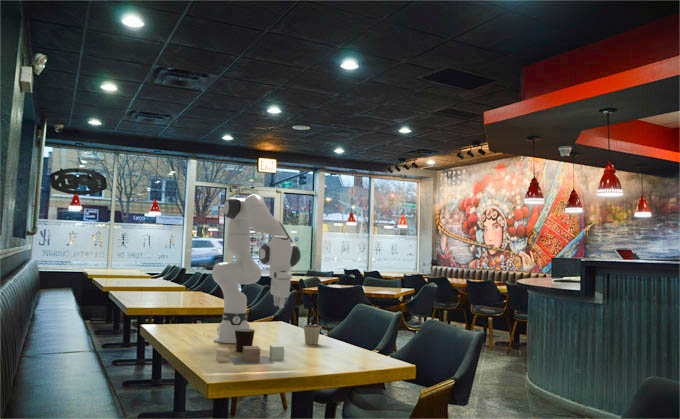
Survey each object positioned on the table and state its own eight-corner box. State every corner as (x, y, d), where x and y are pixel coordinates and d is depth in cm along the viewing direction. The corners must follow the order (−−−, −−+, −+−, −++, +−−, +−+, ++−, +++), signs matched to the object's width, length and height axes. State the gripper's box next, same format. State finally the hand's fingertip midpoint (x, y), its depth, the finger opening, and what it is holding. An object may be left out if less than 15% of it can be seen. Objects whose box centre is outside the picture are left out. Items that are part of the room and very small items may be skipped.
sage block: (269, 359, 220) (269, 344, 221) (280, 359, 222) (281, 344, 222) (271, 361, 215) (272, 347, 216) (283, 361, 217) (284, 346, 218)
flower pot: (320, 345, 257) (321, 327, 258) (301, 345, 257) (302, 327, 258) (321, 342, 267) (322, 325, 267) (302, 341, 267) (303, 324, 267)
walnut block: (242, 358, 215) (243, 346, 215) (256, 358, 217) (257, 346, 217) (244, 361, 209) (245, 349, 210) (259, 361, 211) (260, 348, 212)
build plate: (228, 358, 218) (228, 356, 218) (266, 357, 223) (266, 355, 223) (233, 366, 203) (233, 364, 203) (274, 365, 208) (274, 363, 208)
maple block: (216, 361, 213) (217, 348, 213) (227, 360, 214) (228, 348, 215) (217, 363, 209) (218, 350, 209) (229, 363, 210) (229, 350, 210)
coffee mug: (249, 355, 227) (250, 331, 228) (230, 353, 228) (231, 330, 229) (258, 350, 238) (259, 328, 239) (240, 349, 240) (242, 327, 241)
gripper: (267, 272, 231) (266, 304, 229) (277, 274, 211) (276, 309, 210) (281, 273, 233) (280, 304, 231) (293, 274, 213) (291, 309, 212)
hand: (278, 307), depth 220 cm, fingers open, 8 cm apart
